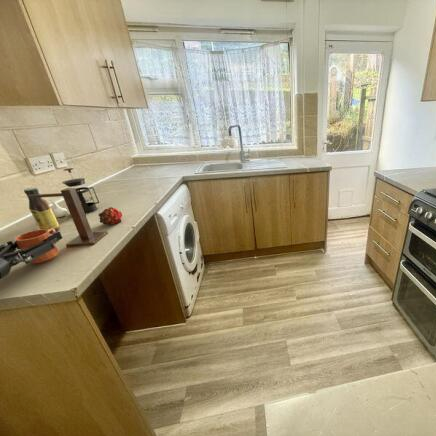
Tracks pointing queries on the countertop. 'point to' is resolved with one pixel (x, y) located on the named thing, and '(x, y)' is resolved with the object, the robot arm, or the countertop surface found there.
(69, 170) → the french press
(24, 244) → the mug
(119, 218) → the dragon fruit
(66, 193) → the mug stand
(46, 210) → the sauce bottle
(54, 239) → the robot arm
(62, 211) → the garlic bulb
